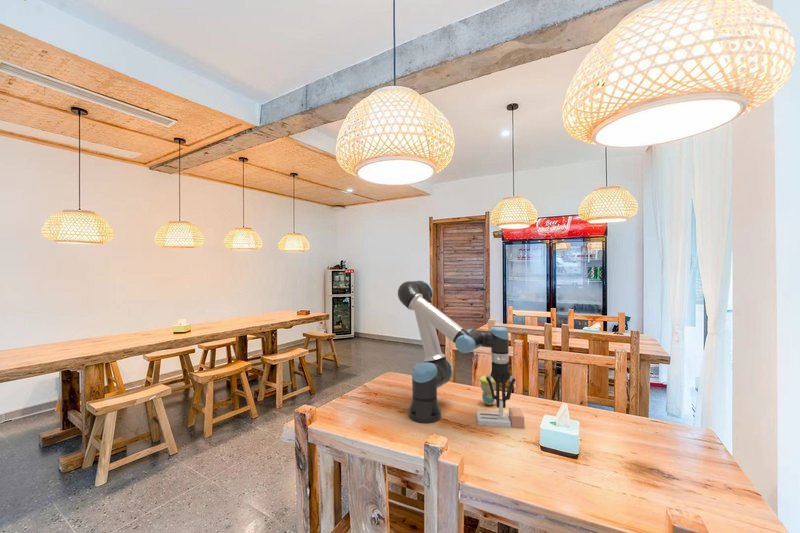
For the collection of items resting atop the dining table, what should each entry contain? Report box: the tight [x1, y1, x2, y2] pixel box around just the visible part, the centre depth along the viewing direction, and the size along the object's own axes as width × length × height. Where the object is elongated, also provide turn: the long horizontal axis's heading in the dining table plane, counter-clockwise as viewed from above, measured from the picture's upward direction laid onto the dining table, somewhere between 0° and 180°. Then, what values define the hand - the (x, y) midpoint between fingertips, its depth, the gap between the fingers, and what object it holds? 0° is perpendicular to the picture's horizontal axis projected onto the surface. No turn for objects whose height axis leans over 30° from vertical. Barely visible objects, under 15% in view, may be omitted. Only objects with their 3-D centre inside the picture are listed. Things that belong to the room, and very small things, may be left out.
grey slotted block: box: [476, 411, 512, 428], centre depth 143 cm, size 14×9×2 cm, turn 80°
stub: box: [508, 406, 525, 429], centre depth 142 cm, size 5×9×5 cm, turn 170°
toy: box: [478, 374, 496, 406], centre depth 162 cm, size 8×9×15 cm
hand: (501, 414), depth 143 cm, fingers closed
